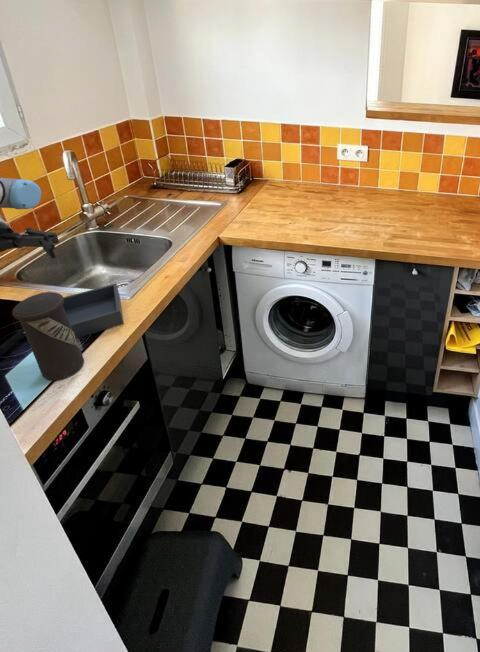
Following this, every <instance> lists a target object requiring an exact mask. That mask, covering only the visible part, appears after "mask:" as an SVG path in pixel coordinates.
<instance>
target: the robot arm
mask: <svg viewBox="0 0 480 652" xmlns="http://www.w3.org/2000/svg"><path fill="white" fill-rule="evenodd" d="M41 199H42V190H41V188H40V186H39V185H38V184H37V183H36V182H35V181H32V180H28V179H24V178H11V177H0V209H15V210H30V209H33V208H35V207H36V206H37V205H38V204H39V203H40V202H41ZM59 242H60V240H59V237H58V234H57V233H56V232H51V231H45V230H39V229H34V228H31V227H26V228H24V231H23V232H17V231H16V232H15V231H14V229H13V228H12V227H11V225H9V224H8V222H7V221H6V220H5V219H4V218H3V216H2V214H1V213H0V253H2V252H5V251H8V250H11V249H22V248H26V247H27V248H42V249H43V251H44V252H45V253H46V254H47V255H48V256H49V257H50V258H51V259H55V258H57V256H56V253H55V252H54V250H56V247H55V244H58V243H59Z"/></svg>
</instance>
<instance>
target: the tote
mask: <svg viewBox="0 0 480 652" xmlns="http://www.w3.org/2000/svg"><path fill="white" fill-rule="evenodd" d="M119 291H120V290H119V288H118V284H117V283H113V284H109V285H105V286H101V287H97V288H93V289H90V290H86V291H81V292H78V293H74V294H70V295H67V296H63V297H64V304H63V307H64V310H65V312H66V315H67V318H68V320H69V323H70V325H71V328H72V330H73V333H74V335H75V338H76V340H77V339H80V338H83V337H86V336H89V335H92V334H96V333H99V332H102V331H105V330H109V329H112V328H115V327H118V326H121V325H124V324H125V323H124V315H123V310H122V302H121V294H120V292H119Z"/></svg>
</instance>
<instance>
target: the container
mask: <svg viewBox="0 0 480 652" xmlns="http://www.w3.org/2000/svg"><path fill="white" fill-rule="evenodd" d="M64 297H65V296H63V294H61V293H59V292H54V291H45V292H40V293H37V294H34V295H31V296H28V297H27V298H24V299H23V300H21V301H20V302H18V304H16V305H15V306H14V307H13V308H12V312H11V313H12V316H13V318H14V319H16V320H18V321H19V323H20V325H21V327H22V330H23V332H24V334H25V337H26V340H27V343H28V344H29V347H30V349H31V351H32V354H33V356H34V359H35V361H36V363H37V366H38V369H39V372H40V373H41V376H42V377H43V379H45V380H47V381H52V382H53V381H60V380H61V381H62V380H64V379H67V378H70V377H71V376H73V375H74V374H76V373H78V372H79V371H80V370H81V369H82V368H83V366H84V363H85V358H84V356H83V353H82V350H81V347H80V345H79V343H78V340H77V339H76V338H75V335H74V333H73V330H72V328H71V325H70V323H69V320H68V318H67V315H66V312H65V310H64V307H63V304H64Z"/></svg>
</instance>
